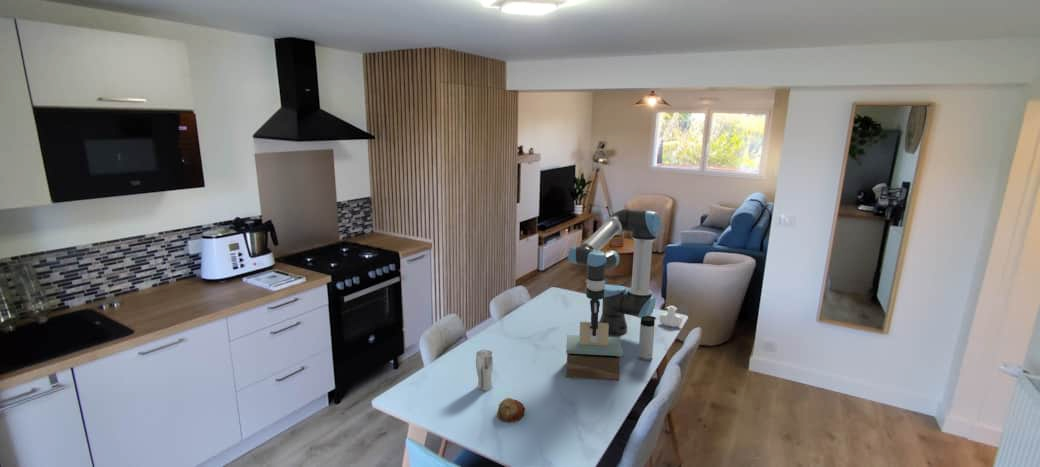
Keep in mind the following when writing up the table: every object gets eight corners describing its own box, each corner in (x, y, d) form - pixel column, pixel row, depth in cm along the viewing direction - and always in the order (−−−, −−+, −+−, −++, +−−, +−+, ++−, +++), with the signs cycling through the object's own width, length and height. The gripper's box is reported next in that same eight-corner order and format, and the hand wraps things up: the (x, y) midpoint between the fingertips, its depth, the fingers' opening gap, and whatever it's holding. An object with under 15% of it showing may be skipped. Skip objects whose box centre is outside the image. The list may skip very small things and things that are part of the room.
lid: (567, 337, 218) (567, 315, 215) (619, 340, 215) (620, 318, 213) (566, 353, 203) (566, 329, 201) (621, 356, 201) (623, 332, 198)
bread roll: (501, 416, 184) (492, 399, 183) (526, 404, 184) (517, 387, 182) (503, 432, 175) (493, 414, 173) (528, 420, 175) (519, 402, 173)
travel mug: (653, 361, 220) (656, 320, 216) (638, 360, 222) (641, 319, 217) (652, 355, 226) (655, 315, 222) (638, 353, 228) (640, 313, 223)
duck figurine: (681, 330, 260) (684, 310, 265) (681, 326, 254) (683, 305, 258) (658, 326, 265) (661, 307, 269) (657, 322, 258) (660, 302, 263)
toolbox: (567, 362, 219) (567, 341, 217) (616, 365, 217) (617, 344, 215) (566, 377, 206) (567, 355, 204) (619, 380, 203) (620, 359, 201)
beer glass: (495, 384, 200) (495, 350, 197) (489, 393, 194) (489, 358, 190) (480, 381, 202) (479, 348, 199) (473, 389, 196) (472, 355, 193)
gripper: (586, 281, 211) (584, 331, 217) (586, 294, 196) (585, 348, 201) (603, 282, 211) (601, 332, 216) (605, 295, 195) (603, 349, 200)
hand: (593, 340), depth 208 cm, fingers closed on lid, 3 cm apart
